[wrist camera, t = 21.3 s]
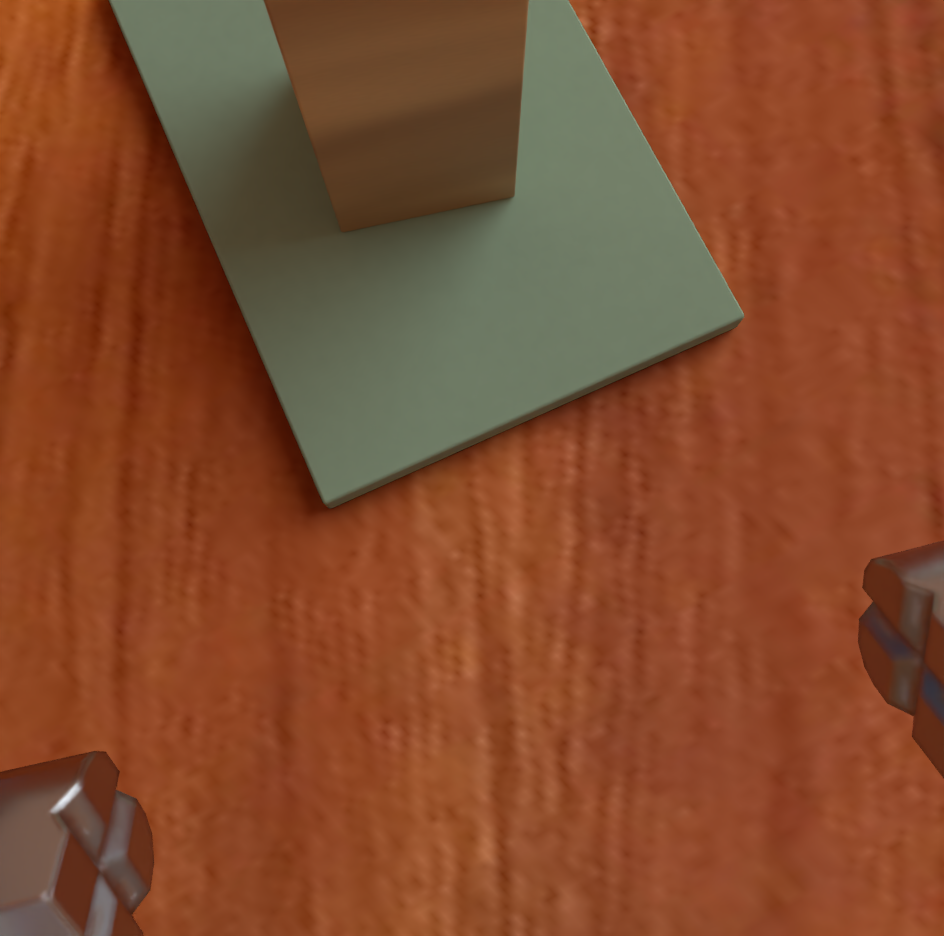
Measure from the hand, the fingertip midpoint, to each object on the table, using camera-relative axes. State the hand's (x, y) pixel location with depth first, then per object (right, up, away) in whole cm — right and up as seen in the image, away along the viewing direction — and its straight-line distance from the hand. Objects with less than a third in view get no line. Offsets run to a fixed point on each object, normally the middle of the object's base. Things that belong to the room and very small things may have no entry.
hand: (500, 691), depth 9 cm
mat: (-2, +9, +9) cm, 13 cm away
